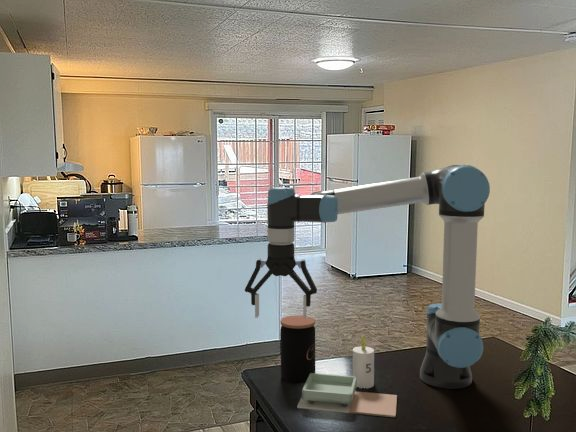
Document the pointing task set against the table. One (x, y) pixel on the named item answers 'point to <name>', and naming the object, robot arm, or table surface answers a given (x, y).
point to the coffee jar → (297, 348)
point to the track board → (359, 405)
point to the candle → (363, 365)
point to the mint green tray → (329, 388)
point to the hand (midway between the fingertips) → (280, 317)
